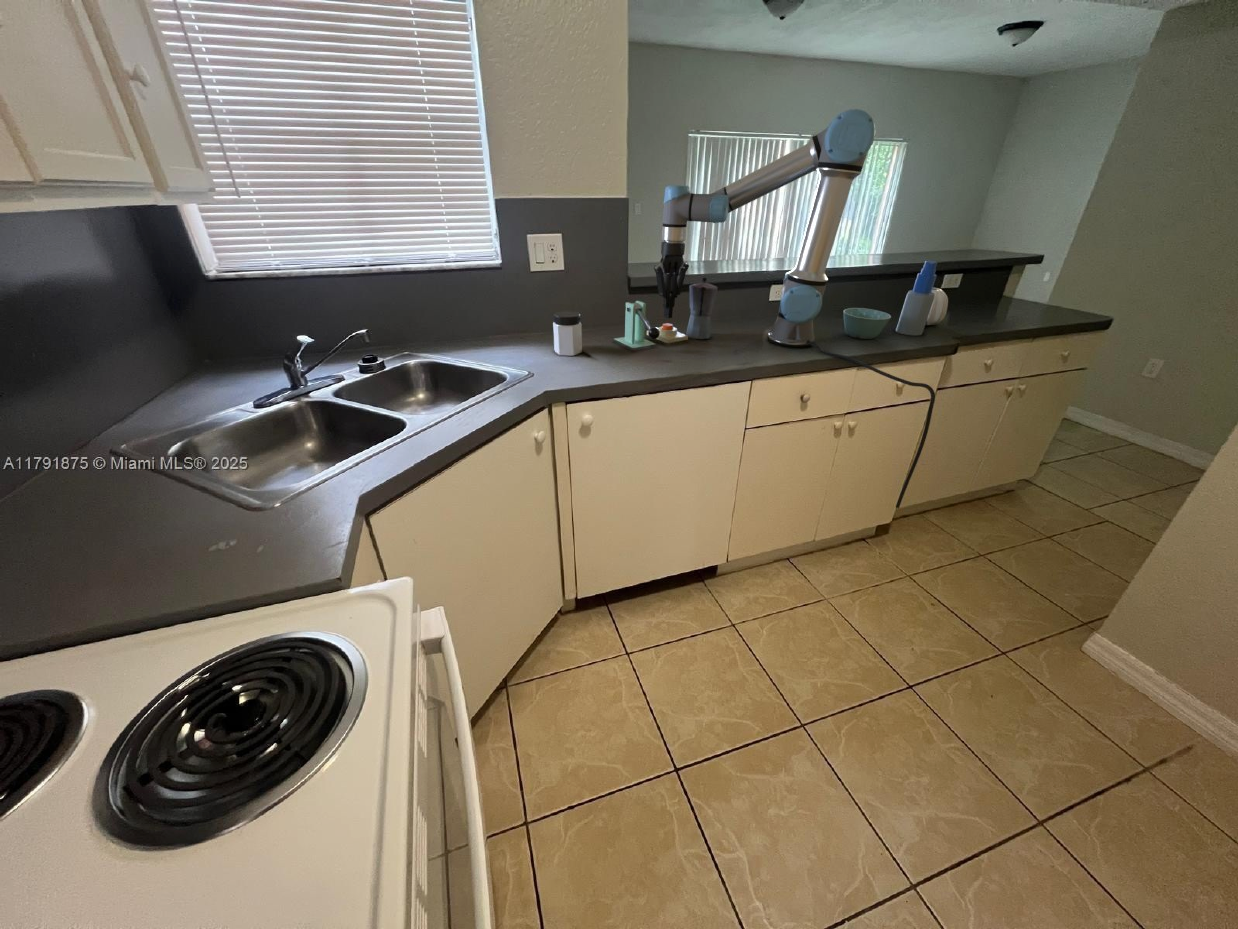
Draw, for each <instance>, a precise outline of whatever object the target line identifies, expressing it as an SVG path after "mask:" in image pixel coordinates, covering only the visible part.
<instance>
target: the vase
mask: <svg viewBox="0 0 1238 929" xmlns="http://www.w3.org/2000/svg"><path fill="white" fill-rule="evenodd" d="M931 292H933V293H935V295H934V296H935V297H934V300H933V303H932V306H931V309H930V312H929V315H928V318H927V321H926V324H925V326H935V325H937V324H939V323H941V322H942V321H944V320H945V317H946V315H947V311H948V307H949V297H948V295H947V294H946V292H945V291H944V290H942V289H941V288H939V287H933V288H932V291H931Z"/></svg>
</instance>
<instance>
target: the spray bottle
mask: <svg viewBox="0 0 1238 929" xmlns="http://www.w3.org/2000/svg"><path fill="white" fill-rule="evenodd" d="M937 265H938V261H935V260H925V261H924V264H923V267H922V268H921V270H920V272H918V273H917V275H916V279H915V282H914V285H913V287H912V288H913V289H910V290H908V292H907V293H906V295H905V299H904V302H903V306H902V309H901V312H900V315H899V319H898V322H897V326H896V328H895V332H896V333H898V334H902V335H906V336H921V335H923V332H924V330H925V326H926V325H925V324H926V321H927V318H928V315H929V312H930V309H931V306H932V303H933V300H934V297H935V296H934V295H935V293H933V292H931V291H932V288H934V285H935V282H936V279H937V274H936V271H937Z"/></svg>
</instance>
